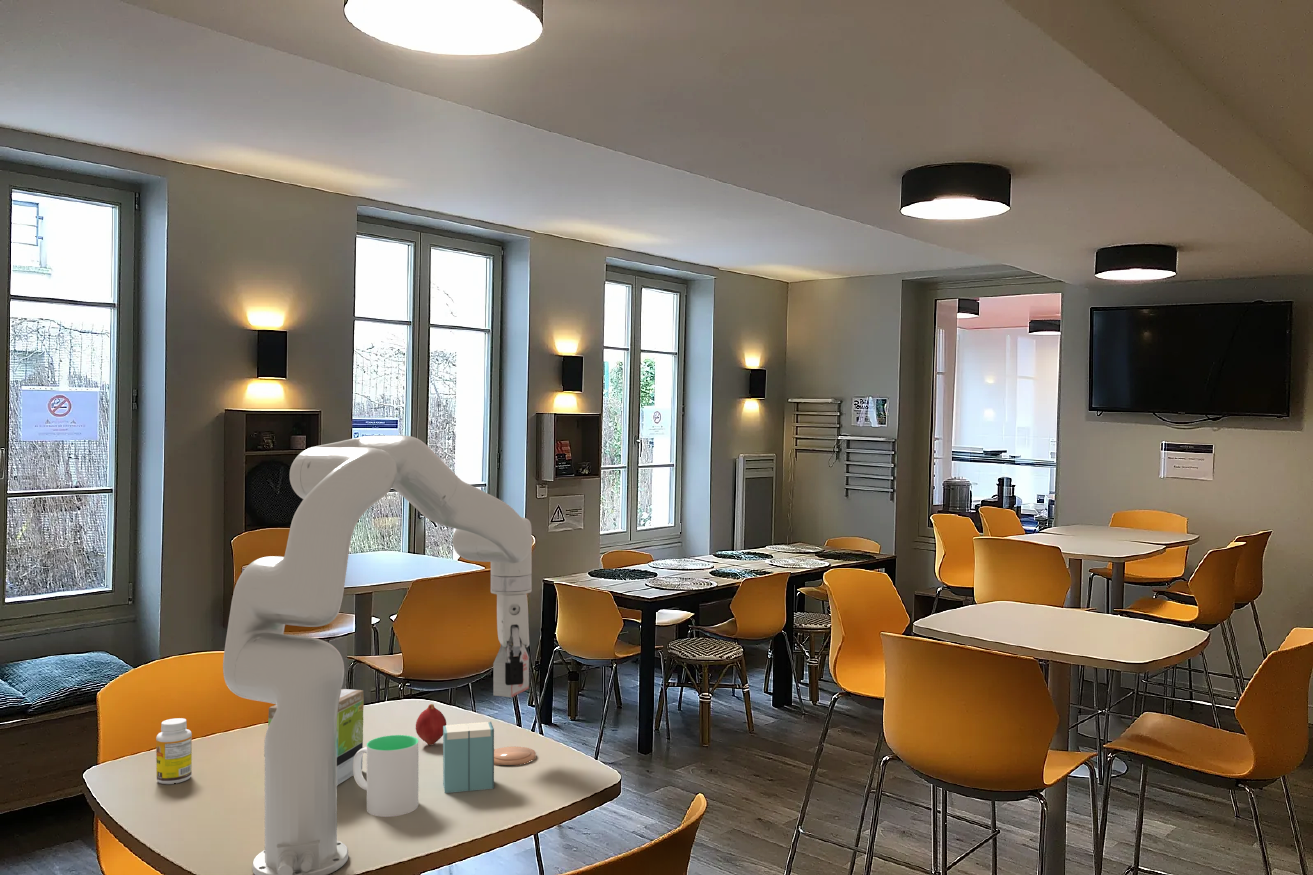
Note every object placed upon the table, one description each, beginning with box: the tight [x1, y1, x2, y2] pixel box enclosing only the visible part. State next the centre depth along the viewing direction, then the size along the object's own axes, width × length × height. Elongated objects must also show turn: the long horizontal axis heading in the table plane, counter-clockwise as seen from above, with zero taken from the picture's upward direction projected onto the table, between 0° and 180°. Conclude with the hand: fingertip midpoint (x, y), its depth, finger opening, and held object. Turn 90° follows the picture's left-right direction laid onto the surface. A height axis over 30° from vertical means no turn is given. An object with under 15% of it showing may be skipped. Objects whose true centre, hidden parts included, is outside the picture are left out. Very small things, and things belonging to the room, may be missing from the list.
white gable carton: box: [492, 643, 530, 698], centre depth 184 cm, size 4×7×10 cm, turn 159°
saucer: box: [494, 746, 537, 766], centre depth 184 cm, size 9×9×1 cm
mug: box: [353, 734, 419, 818], centre depth 161 cm, size 12×8×10 cm, turn 67°
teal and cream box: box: [442, 721, 495, 794], centre depth 170 cm, size 4×8×10 cm, turn 105°
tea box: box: [267, 688, 365, 786], centre depth 172 cm, size 15×10×15 cm, turn 168°
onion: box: [415, 703, 447, 746], centre depth 192 cm, size 6×6×8 cm
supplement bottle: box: [155, 717, 193, 785], centre depth 173 cm, size 6×6×10 cm
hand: (511, 678), depth 184 cm, fingers closed on white gable carton, 7 cm apart
